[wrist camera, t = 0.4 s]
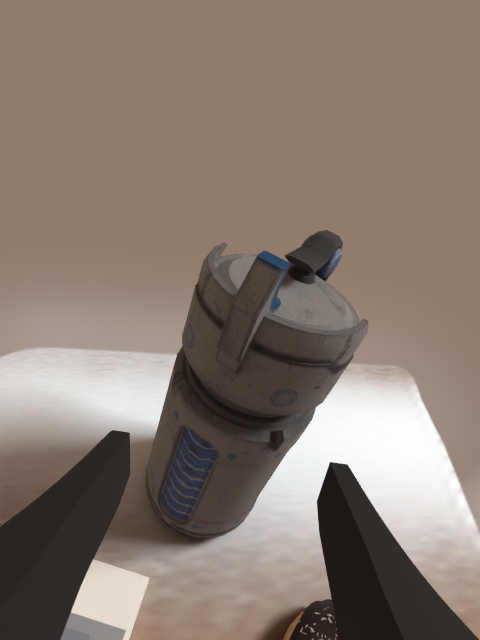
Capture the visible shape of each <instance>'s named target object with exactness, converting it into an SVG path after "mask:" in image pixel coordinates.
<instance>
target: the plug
mask: <svg viewBox="0 0 480 640" xmlns="http://www.w3.org/2000/svg"><path fill="white" fill-rule="evenodd" d="M89 638H90V635H88V634H85V633H82V632H79V631H76V630H73V629H70V628H67V627H65V629H64V632H63V635H62V637H61V640H89Z"/></svg>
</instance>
